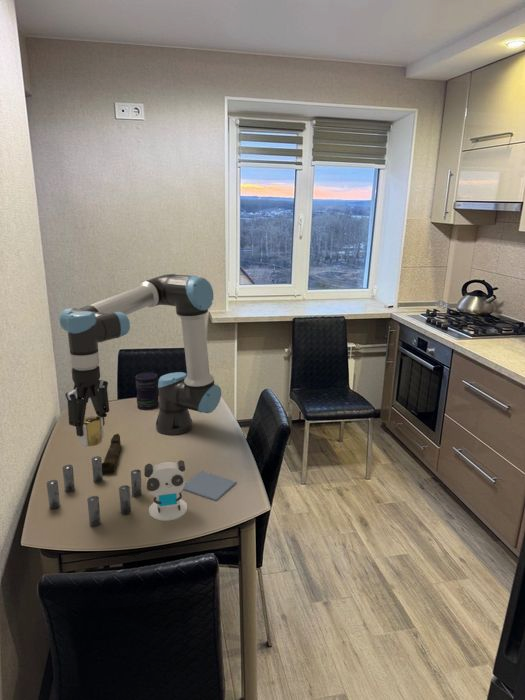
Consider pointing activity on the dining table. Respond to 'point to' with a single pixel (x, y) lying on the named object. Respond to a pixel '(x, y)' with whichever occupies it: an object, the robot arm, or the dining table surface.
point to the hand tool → (111, 455)
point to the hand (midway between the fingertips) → (92, 440)
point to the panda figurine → (166, 489)
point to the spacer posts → (94, 500)
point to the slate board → (208, 485)
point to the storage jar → (147, 391)
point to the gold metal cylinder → (93, 430)
